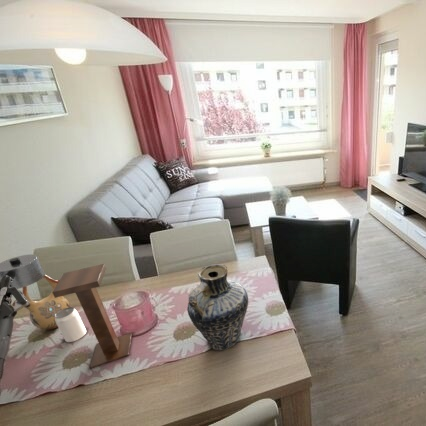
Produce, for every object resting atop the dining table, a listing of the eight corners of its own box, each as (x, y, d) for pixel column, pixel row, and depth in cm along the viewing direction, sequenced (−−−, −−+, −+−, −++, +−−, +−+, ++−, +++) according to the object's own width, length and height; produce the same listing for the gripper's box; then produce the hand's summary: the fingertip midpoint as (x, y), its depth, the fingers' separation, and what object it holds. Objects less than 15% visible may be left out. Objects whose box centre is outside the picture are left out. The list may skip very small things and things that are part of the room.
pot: (-28, 320, 69) (-44, 297, 67) (11, 276, 87) (0, 256, 84) (20, 308, 73) (8, 285, 70) (49, 268, 90) (40, 248, 87)
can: (83, 328, 115) (72, 304, 110) (90, 335, 111) (78, 310, 107) (63, 339, 110) (50, 314, 105) (69, 346, 107) (56, 321, 102)
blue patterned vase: (217, 317, 117) (201, 252, 105) (262, 323, 113) (251, 256, 101) (185, 361, 98) (162, 288, 87) (238, 369, 94) (221, 295, 83)
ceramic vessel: (75, 308, 126) (51, 259, 116) (86, 314, 122) (62, 264, 112) (26, 335, 113) (-5, 282, 103) (37, 343, 109) (6, 288, 99)
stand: (91, 370, 97) (52, 292, 84) (98, 346, 106) (63, 273, 93) (129, 357, 101) (97, 281, 88) (132, 335, 110) (104, 263, 98)
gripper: (-43, 360, 66) (-25, 292, 75) (34, 338, 71) (42, 277, 81) (-71, 352, 60) (-48, 279, 70) (15, 328, 66) (26, 263, 75)
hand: (0, 278), depth 75 cm, fingers closed on pot
